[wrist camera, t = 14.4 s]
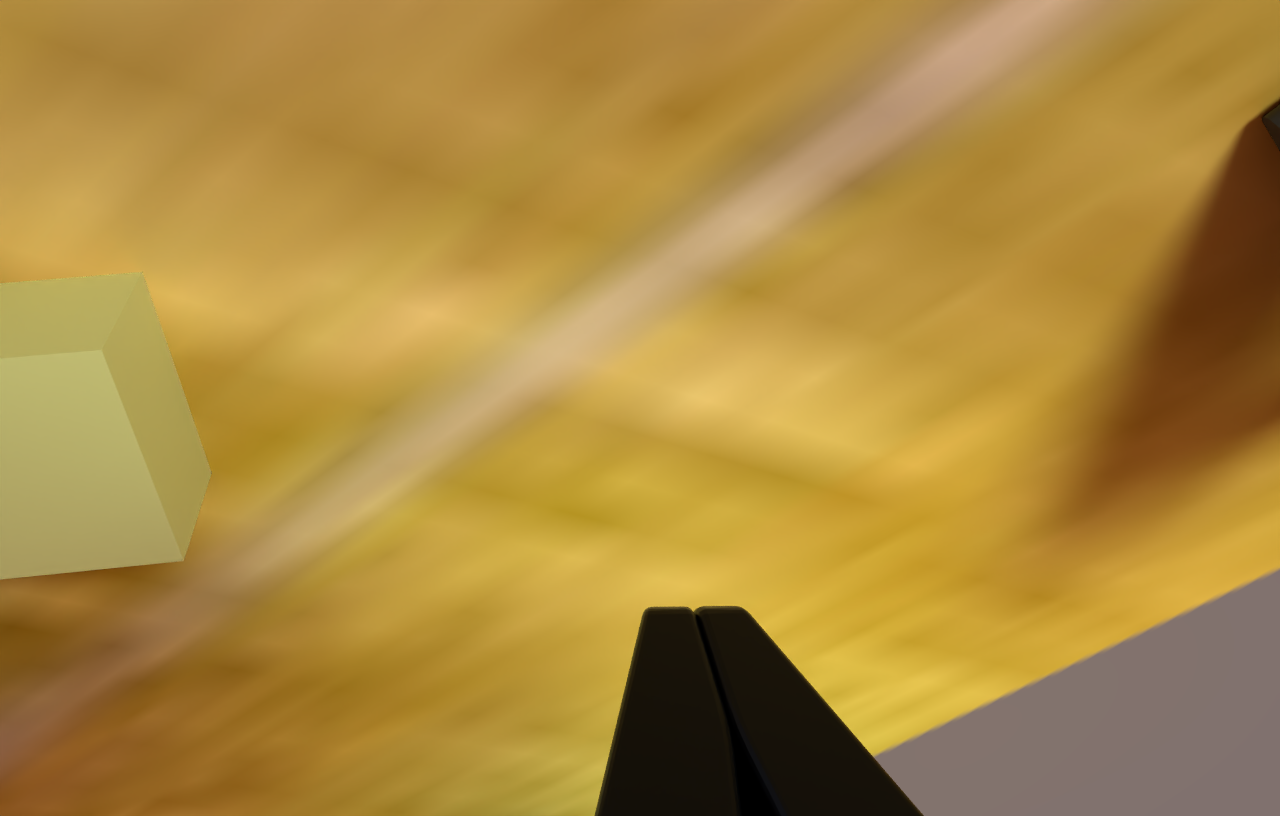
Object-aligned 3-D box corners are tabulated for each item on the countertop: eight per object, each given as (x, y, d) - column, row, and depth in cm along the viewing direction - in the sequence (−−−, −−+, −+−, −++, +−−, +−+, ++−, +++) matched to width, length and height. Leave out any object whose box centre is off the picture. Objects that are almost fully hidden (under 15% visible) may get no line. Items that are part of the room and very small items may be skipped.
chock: (213, 465, 24) (183, 560, 21) (-71, 492, 23) (-135, 592, 21) (145, 265, 21) (101, 349, 18) (-183, 291, 20) (-273, 382, 18)
